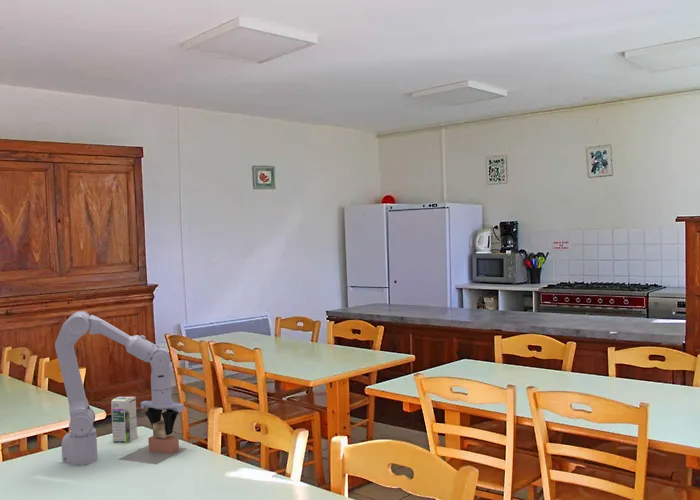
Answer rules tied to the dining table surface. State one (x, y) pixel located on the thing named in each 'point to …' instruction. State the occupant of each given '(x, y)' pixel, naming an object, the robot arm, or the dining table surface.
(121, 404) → the syrup box
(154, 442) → the terracotta brick
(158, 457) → the building plate
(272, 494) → the dining table surface
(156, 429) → the beech cube
